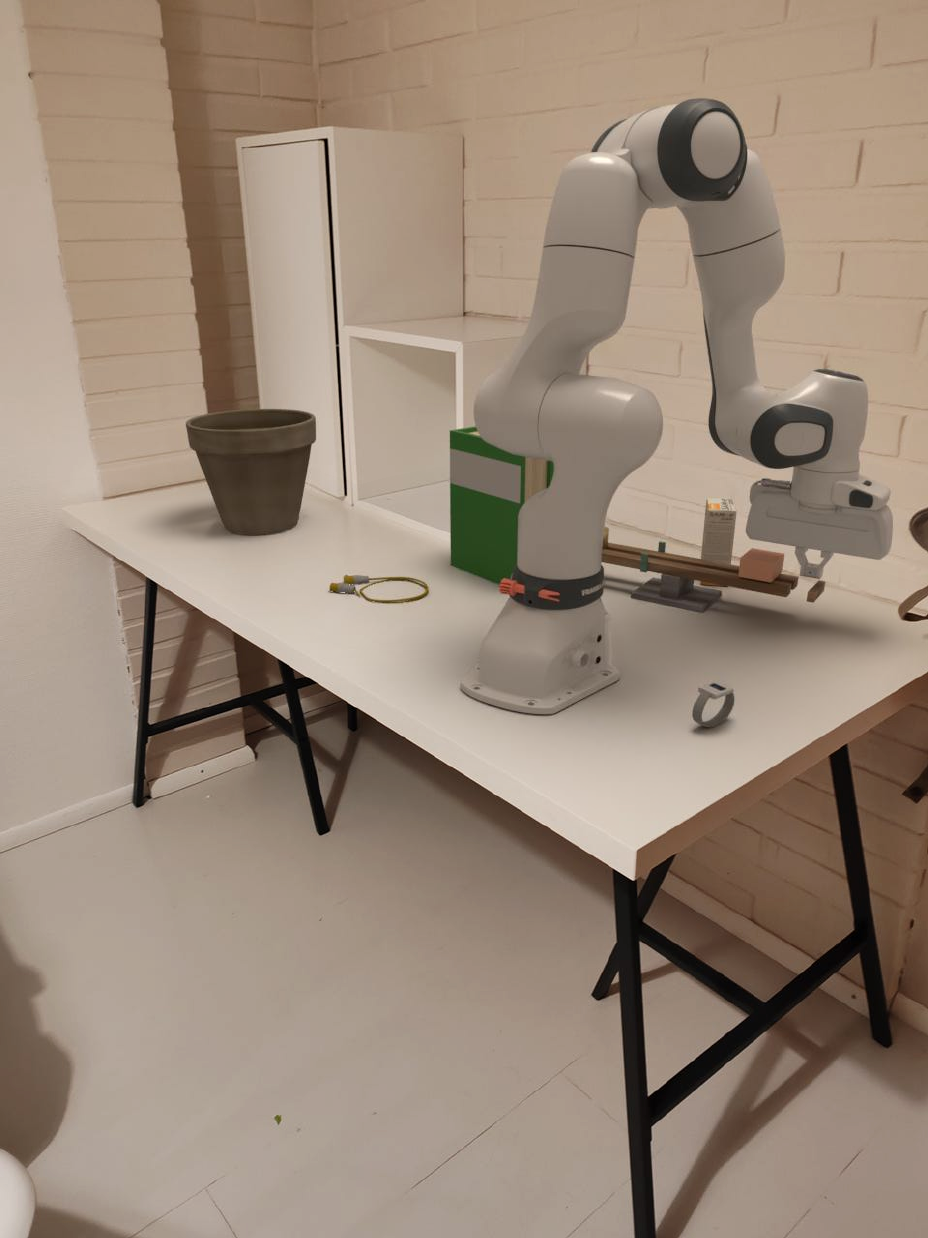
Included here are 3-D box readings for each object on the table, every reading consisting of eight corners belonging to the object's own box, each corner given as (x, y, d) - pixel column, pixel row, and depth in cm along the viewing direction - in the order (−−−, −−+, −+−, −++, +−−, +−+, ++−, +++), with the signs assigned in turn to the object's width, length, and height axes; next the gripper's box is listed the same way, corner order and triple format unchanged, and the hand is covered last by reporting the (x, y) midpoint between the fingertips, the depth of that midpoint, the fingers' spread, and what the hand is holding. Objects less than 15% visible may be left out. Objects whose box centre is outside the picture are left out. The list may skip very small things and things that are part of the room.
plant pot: (187, 516, 200) (175, 411, 192) (302, 503, 210) (295, 403, 202) (211, 550, 179) (198, 434, 171) (337, 533, 189) (331, 423, 181)
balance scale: (806, 634, 141) (814, 576, 138) (544, 579, 164) (545, 528, 160) (822, 615, 148) (830, 559, 145) (568, 565, 171) (570, 516, 167)
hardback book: (550, 582, 163) (555, 440, 154) (518, 592, 158) (521, 447, 149) (482, 557, 175) (483, 425, 166) (450, 565, 171) (449, 430, 162)
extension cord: (371, 573, 168) (371, 562, 168) (443, 591, 160) (443, 580, 159) (323, 593, 159) (322, 581, 158) (396, 613, 151) (395, 602, 150)
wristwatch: (703, 736, 113) (707, 698, 111) (685, 727, 115) (689, 690, 113) (737, 722, 116) (742, 684, 114) (719, 713, 118) (724, 676, 117)
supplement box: (729, 587, 160) (737, 511, 155) (700, 585, 161) (707, 509, 156) (727, 571, 168) (735, 498, 163) (698, 569, 169) (705, 496, 164)
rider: (769, 592, 144) (773, 563, 143) (737, 586, 147) (740, 557, 145) (780, 582, 149) (784, 553, 147) (748, 576, 151) (752, 548, 149)
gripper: (745, 480, 141) (735, 570, 146) (893, 500, 130) (877, 595, 136) (758, 472, 146) (748, 558, 151) (902, 490, 135) (886, 582, 140)
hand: (810, 576), depth 143 cm, fingers closed
